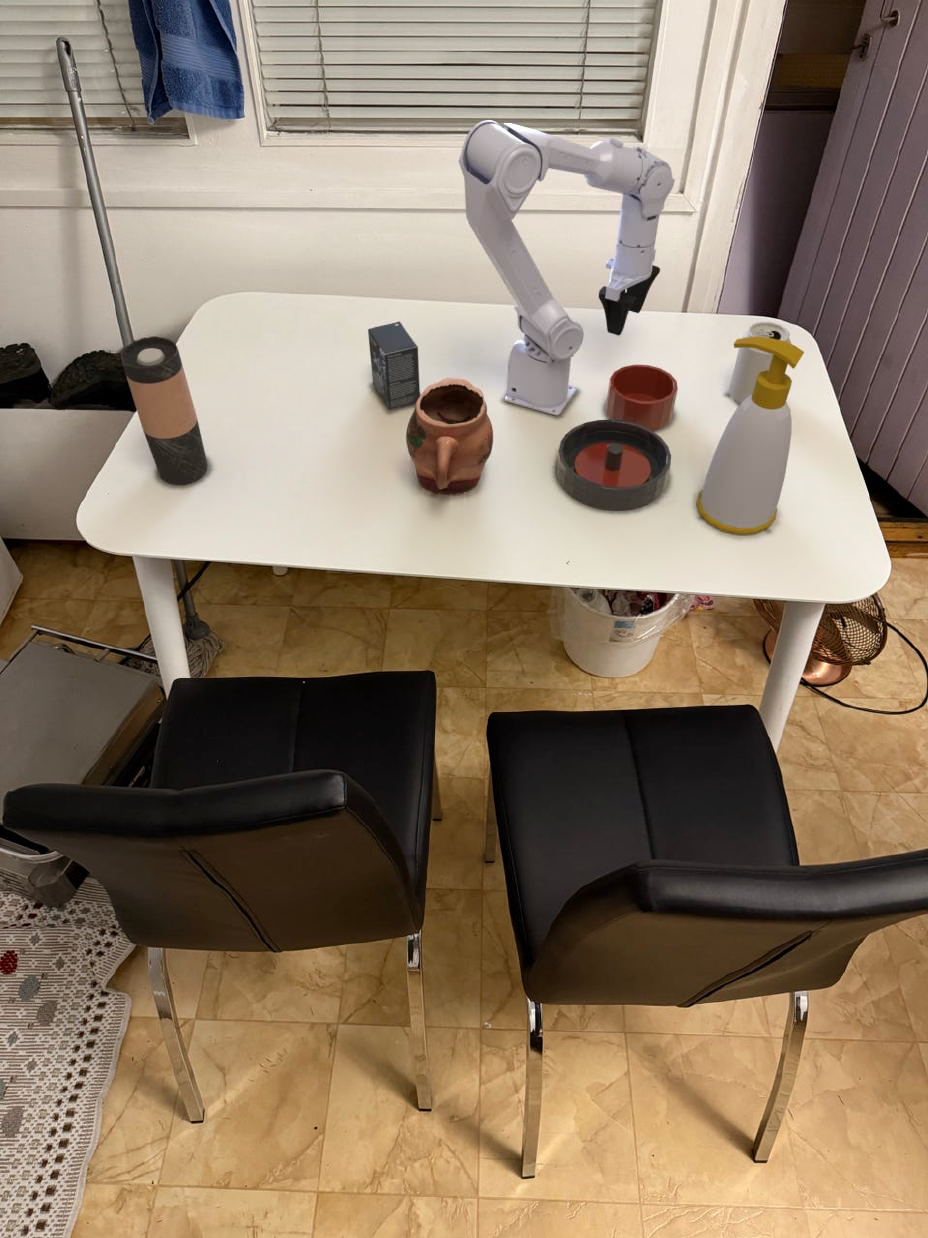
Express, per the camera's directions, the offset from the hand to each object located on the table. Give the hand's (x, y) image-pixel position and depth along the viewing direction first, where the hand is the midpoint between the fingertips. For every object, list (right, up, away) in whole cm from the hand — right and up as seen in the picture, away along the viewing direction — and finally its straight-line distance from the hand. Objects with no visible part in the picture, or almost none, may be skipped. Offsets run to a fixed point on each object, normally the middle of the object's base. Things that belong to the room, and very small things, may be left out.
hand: (624, 321), depth 147 cm
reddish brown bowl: (+2, -15, 0) cm, 15 cm away
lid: (-4, -25, -11) cm, 28 cm away
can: (+21, -12, +3) cm, 24 cm away
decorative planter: (-28, -28, -12) cm, 41 cm away
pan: (-4, -26, -11) cm, 28 cm away
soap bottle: (+13, -32, -16) cm, 38 cm away
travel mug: (-67, -26, -10) cm, 73 cm away
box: (-37, -11, +3) cm, 38 cm away
